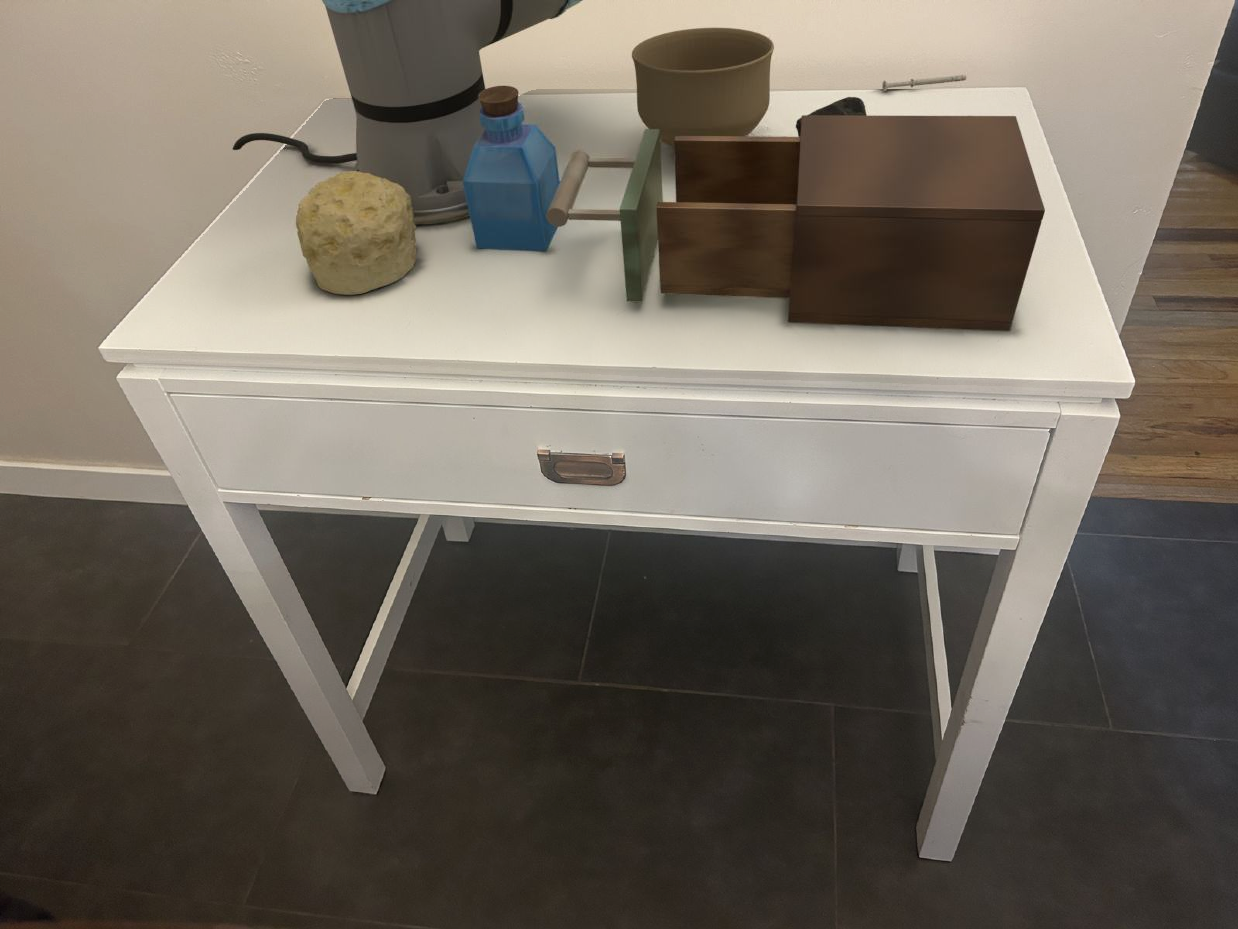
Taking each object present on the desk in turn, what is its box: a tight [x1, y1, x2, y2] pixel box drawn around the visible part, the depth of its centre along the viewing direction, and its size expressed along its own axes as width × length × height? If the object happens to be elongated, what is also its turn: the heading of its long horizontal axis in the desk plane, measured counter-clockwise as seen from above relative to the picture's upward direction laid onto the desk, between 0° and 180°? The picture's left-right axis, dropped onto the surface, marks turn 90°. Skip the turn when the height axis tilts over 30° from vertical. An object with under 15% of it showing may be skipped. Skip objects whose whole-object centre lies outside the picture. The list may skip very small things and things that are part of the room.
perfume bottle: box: [463, 85, 561, 252], centre depth 75 cm, size 6×6×12 cm
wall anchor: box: [881, 74, 967, 92], centre depth 93 cm, size 1×9×1 cm
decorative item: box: [295, 170, 418, 296], centre depth 74 cm, size 10×10×10 cm
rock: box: [795, 96, 868, 137], centre depth 83 cm, size 9×7×5 cm
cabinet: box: [787, 114, 1046, 332], centre depth 67 cm, size 16×14×10 cm
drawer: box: [546, 128, 800, 303], centre depth 69 cm, size 20×12×8 cm, turn 80°
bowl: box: [631, 27, 775, 149], centre depth 83 cm, size 13×13×10 cm
